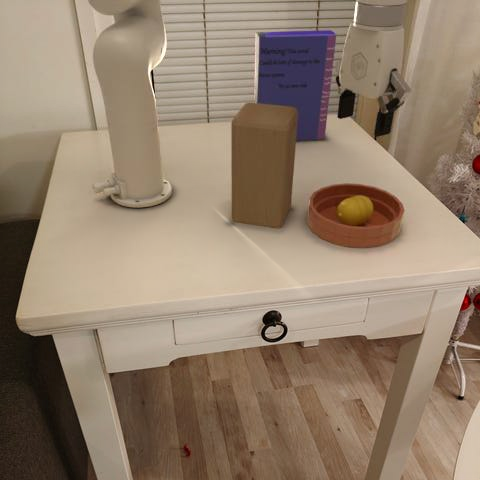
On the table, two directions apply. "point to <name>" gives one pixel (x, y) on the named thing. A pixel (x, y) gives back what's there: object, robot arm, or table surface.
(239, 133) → the wooden block
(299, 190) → the table surface
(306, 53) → the purple book
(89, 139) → the table surface
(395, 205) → the fruit bowl
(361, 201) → the lemon
